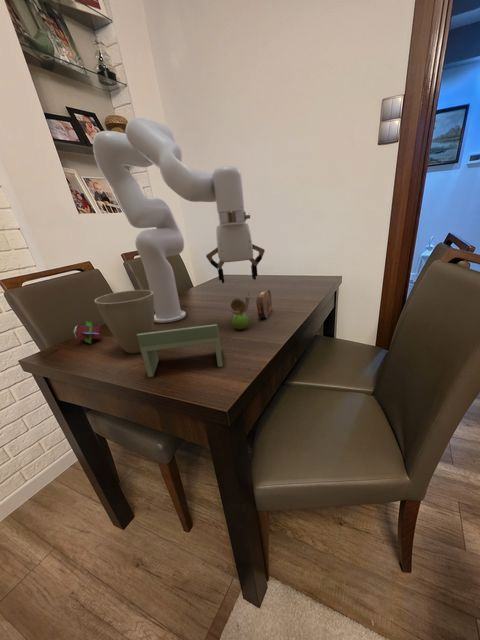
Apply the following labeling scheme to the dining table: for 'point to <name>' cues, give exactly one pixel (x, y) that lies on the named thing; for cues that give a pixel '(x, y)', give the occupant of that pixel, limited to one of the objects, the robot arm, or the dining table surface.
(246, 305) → the snail figurine
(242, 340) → the dining table surface
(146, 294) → the plant pot
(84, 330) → the geometric puzzle
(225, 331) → the dining table surface
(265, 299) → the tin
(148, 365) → the shelf
